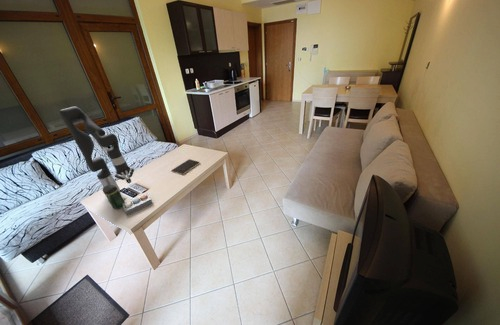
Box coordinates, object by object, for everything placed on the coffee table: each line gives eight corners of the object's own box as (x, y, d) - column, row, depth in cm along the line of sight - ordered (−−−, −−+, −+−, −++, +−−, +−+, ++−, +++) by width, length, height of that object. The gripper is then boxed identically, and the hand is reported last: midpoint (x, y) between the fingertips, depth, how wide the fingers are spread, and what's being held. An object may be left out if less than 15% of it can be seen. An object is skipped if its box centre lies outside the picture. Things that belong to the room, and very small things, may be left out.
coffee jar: (127, 204, 151) (117, 185, 141) (117, 210, 145) (106, 191, 136) (121, 200, 155) (110, 182, 146) (111, 207, 149) (99, 188, 140)
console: (124, 207, 147) (122, 203, 145) (148, 196, 157) (146, 192, 155) (127, 215, 139) (125, 211, 137) (152, 203, 148) (150, 199, 146)
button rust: (142, 200, 150) (140, 196, 148) (147, 198, 153) (145, 194, 151) (143, 203, 148) (141, 199, 146) (148, 200, 150) (146, 196, 148)
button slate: (134, 204, 148) (132, 200, 146) (140, 201, 150) (138, 197, 148) (135, 206, 145) (133, 202, 143) (141, 204, 147) (139, 200, 145)
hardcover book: (200, 163, 196) (199, 161, 195) (182, 175, 180) (182, 173, 179) (189, 160, 204) (188, 159, 203) (171, 171, 188) (171, 170, 186)
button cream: (126, 208, 145) (124, 204, 143) (132, 205, 147) (130, 201, 145) (128, 210, 142) (125, 206, 140) (133, 207, 144) (131, 203, 142)
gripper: (128, 156, 137) (138, 176, 146) (107, 164, 130) (118, 184, 139) (130, 160, 132) (140, 180, 141) (108, 168, 125) (120, 188, 134)
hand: (129, 182), depth 140 cm, fingers closed
